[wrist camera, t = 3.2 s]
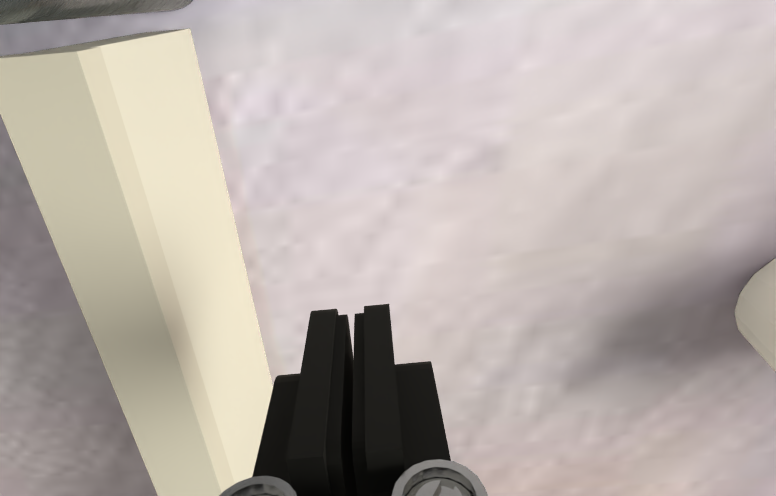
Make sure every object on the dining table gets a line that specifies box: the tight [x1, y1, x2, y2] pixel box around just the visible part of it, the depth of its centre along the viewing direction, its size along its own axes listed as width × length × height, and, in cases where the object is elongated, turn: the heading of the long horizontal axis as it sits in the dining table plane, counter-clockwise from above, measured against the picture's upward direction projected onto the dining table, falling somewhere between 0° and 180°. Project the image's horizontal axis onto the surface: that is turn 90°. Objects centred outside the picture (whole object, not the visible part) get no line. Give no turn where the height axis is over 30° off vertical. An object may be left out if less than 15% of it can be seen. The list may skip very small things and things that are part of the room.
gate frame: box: [0, 0, 193, 25], centre depth 17 cm, size 42×2×12 cm, turn 4°
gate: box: [0, 29, 273, 496], centre depth 18 cm, size 20×2×9 cm, turn 4°
